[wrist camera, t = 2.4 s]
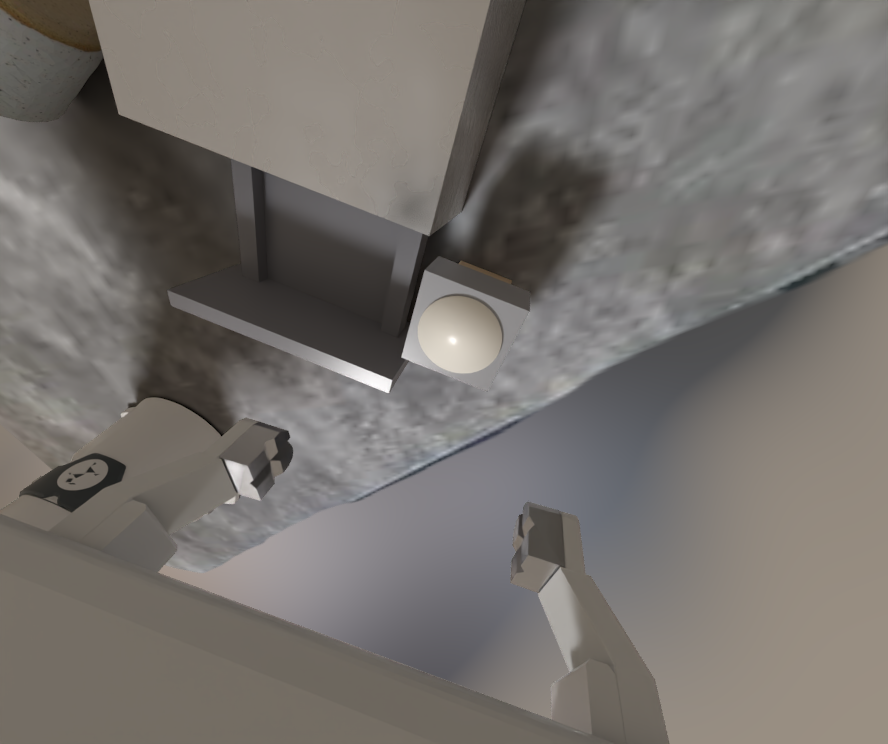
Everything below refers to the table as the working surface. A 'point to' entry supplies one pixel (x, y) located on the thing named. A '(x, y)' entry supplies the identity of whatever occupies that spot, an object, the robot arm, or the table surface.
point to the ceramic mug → (45, 56)
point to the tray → (313, 279)
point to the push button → (464, 322)
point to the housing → (321, 90)
